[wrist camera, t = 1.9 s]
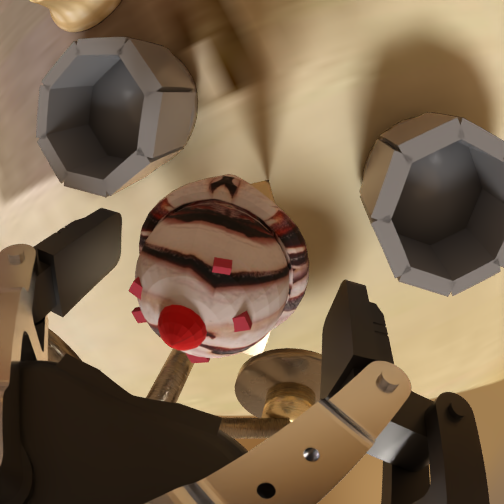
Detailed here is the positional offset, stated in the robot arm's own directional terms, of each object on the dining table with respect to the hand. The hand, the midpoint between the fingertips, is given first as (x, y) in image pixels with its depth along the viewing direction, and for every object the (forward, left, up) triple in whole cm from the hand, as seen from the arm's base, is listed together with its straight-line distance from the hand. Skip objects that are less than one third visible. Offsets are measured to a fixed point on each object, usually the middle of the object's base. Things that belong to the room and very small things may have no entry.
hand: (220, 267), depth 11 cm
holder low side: (-3, +10, -11) cm, 15 cm away
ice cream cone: (0, 0, -11) cm, 11 cm away
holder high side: (-3, -10, -11) cm, 15 cm away
